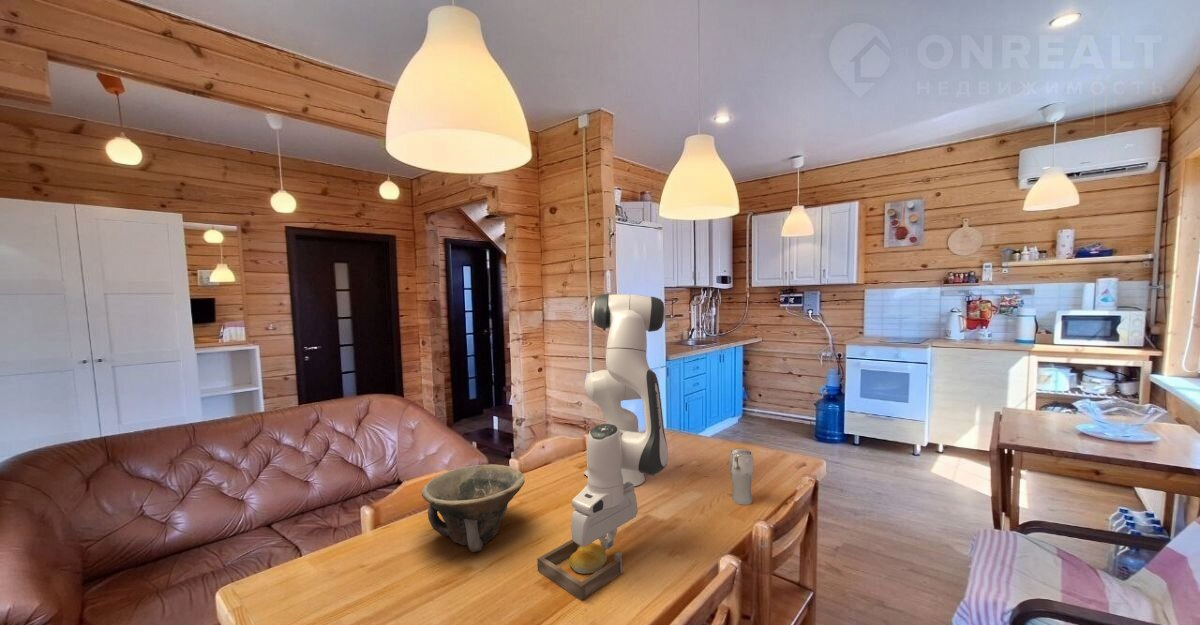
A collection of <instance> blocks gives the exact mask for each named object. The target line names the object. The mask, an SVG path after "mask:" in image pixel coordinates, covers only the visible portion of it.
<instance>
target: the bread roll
mask: <svg viewBox="0 0 1200 625" xmlns="http://www.w3.org/2000/svg"><path fill="white" fill-rule="evenodd" d="M607 558H608V557H607V553H606V551H604V549H603V548H602V547H601V545H600V544H597V543H595V542H592V543H590V544H588V545H587V546H585V547H582V546H580V547H578V549H577V551H576V552H574V553H573V554H572V555H571V556H570V557H569V559H568V563H569V565H570V567H571V569H573V571H574V572H575V573H578V574H583V575H586V574H594V573H595V572H597V571H599V570H600V569H602V568H603V567H604V566H605V564H606V563H607Z"/></svg>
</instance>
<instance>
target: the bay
mask: <svg viewBox="0 0 1200 625" xmlns="http://www.w3.org/2000/svg"><path fill="white" fill-rule="evenodd" d="M578 547H580V545H578V544H576V543H575V542H574V541H573V539H572V538H571V539H570V540H568V541H566V542H564V543H562V544H561V545H559V546H558V547H555V548H554V549H551V550H550V551H548V552H546V553H544V554H543V555H540V556H539V557H537V558H536V562H537V564H536V565H537V566H536V567H537V572H538V571H539V573H540V574H541V573H542V575H543V576H545V577H546V579H547V578H548V579H549V580H550V581H552V582H553V583H555V584H556V585H558V586H559V587H560V588H562V589H564V590H565V591H566V592H568V593H570V594H571V595H573V596H574V597H575V596H576V599H578V598H579V599H578V600H580V601H581V600H582V601H583V600H585V599H586V598H588V597H589V596H591V595H592V594H594V593H595V592H597V591H598V590H599V589H601V588H602V587H604V586H605V585H607V584H608V583H610V582H611V581H613V580H614V579H615V578H617V577H618V576H620V575H621V574H623V554H622V553H621V552H619V551H617V552H616V553H614V556H613V557H614V560H612V561H611V562H609V563H607V564H606V565H604V566H603V567H602V568H601V569H600V570H599V571H597V572H594V573H591V574H590V575H589V576H588V577H586V578H585V579H583V580H582V581H581V580H580V579H578V578H577V577H576V576H574V575H572V574H570V573H569V572H567V571H565V570H564V569H562V568H561V567H559V566H558V565H557V564H559V563H561V562H563V561H564V560H566V559H567V558H570V556H571V555H572V554H573V553H574V552H576V551H577V549H578Z"/></svg>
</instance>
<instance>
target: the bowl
mask: <svg viewBox="0 0 1200 625" xmlns="http://www.w3.org/2000/svg"><path fill="white" fill-rule="evenodd" d="M525 479H526V478H525V475H524V473H522V472H521V471H520V470H518V469H516V468H514V467H512V466H508V465H503V464H476V465H469V466H464V467H459V468H455V469H452V470H448V471H446V472H443V473H442V474H440V475H438V476H436V477H434V478H432V479H430V480H429V481H428V482H427V483H426V484H425V485H424V486H423V488H422V491H421V496H422V498H423V499H424V500H425V502H428V504H429V506H428V509H427V510H428V511H427V517H428V518H427V520H428V521H429V523H430V525H431V527H432V529H433V530H434V531H435V532H436V533H438V534H439V535H442V536H445V537H449V538H450V539H451V541H452V543H455V544H457V543H458V545H460V544H461V545H460V546H465V545H468V546H467V547H468V549H469V551H470V552H472V553H475V552H479V551H481V550H482V549H483V546H484V545H485V544H487V543H488V542H489V540H490V541H492V538H493V539H494V538H495V537H496V535H498V533H499V531H500V523H501V520H502V518H503V516H505V513H506V511H507V509H508V505H509V502H511V501H512V499H513V498H514V497H515V495H517V494H518V492H519V491H520V490H521V489H522V487H523V486H524V484H525ZM439 514H440V516H441V517H442V519H443V520H442V519H441V518H440V516H439ZM486 542H487V543H486Z"/></svg>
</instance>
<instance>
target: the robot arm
mask: <svg viewBox="0 0 1200 625" xmlns="http://www.w3.org/2000/svg"><path fill="white" fill-rule="evenodd" d="M666 312H667V311H666V308H665V304H664V302H663V300H662V299H661V298H659V297H656V296H645V295H639V294H631V293H630V294H625V293H621V294H616V293H615V294H609V293H601V294H598V295H597V296H596V297H595V300H594V301H593V302H592V306H591V319H592V320H593V323H594V325H595V326H596V327H597V328H599V329H602V330H603V331H606V330H607V329H609V331H608V336H607V343H606V352H605V366H606V369H600V370H596V371H593V372H590V373H588V374H587V376H586V378H585V380H584V387H583V388H584V391H585V392H584V394H586V397H587V398H588V399H589V400H590V401H591V402H593V403H594V404H596V405H597V406H598V407H599V409H600V410H601V412H602V413H603V416H604V420H605V423H602V424H597V425H595V426H593V427H591V428H590V430H589V432H588V435H587V443H586V465H587V469H586V470H585V471H584V472H583V475H584V474H585V475H586V476H588V478H587V484H586V485H585V486H584V488H582V490H581V491H580V492H579V493H578V494H577V495H576V496H574V497H573V498H572V500H571V507H572V508H573V509H574V510H573V512H572V515H571V524H570V526H571V540H572V539H573V541H574V542H575V543H576V544H578V545H580V546H582V547H585V546H587V545H588V544H590V543H594V542H596V541H597V540H598V541H599V542H600V546H601V547H602V548H603V549H604V551H605V552H606V551H608V550H609V549H610V548H612V547H614V546H615V538H616V535H617V532H618V528H619V527H621V526H623V525H625V524H626V523H628V522H629V521H632V520H634V519H635V518H637V515H638V513H639V512H638V510H639V509H638V502H637V501H638V500H637V495H636V492H635V487H637V486H639V485H642V484H643V483H644V482H645V475H648V476H656V475H658V474H659V473H661V472H662V470H664V469H665V468H666V466H668V459H669V450H668V443H667V437H666V434H665V427H664V418H663V409H662V408H663V407H662V399H661V392H660V386H659V380H658V377H657V374H656V373H655V371H653V370H652V369H651V368H650V366H649V363H648V360H647V359H648V358H647V346H648V341H647V332H648V333H649V332H651V333H653V332H656V331H659V330H660V329H661V328H662V327H663V324H664V323H665V321H666V317H667V316H666V315H667V314H666ZM632 400H642V407H643V416H644V418H643V419H644V426H645V432H639V419H638V416H637V414H635V413H634V412H632V411H631V410H630V409H627V408H624V407H622V404H621V403H622V402H623V401H632ZM644 474H645V475H644ZM586 476H585V477H586Z"/></svg>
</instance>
